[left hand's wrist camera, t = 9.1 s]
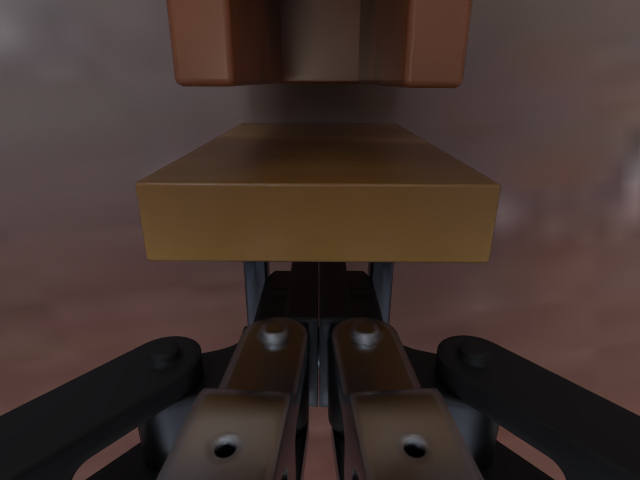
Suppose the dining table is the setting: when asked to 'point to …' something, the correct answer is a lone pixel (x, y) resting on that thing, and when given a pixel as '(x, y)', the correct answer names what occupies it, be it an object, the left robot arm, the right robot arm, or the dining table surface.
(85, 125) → the dining table surface
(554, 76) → the dining table surface
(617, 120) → the dining table surface
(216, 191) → the drawer
